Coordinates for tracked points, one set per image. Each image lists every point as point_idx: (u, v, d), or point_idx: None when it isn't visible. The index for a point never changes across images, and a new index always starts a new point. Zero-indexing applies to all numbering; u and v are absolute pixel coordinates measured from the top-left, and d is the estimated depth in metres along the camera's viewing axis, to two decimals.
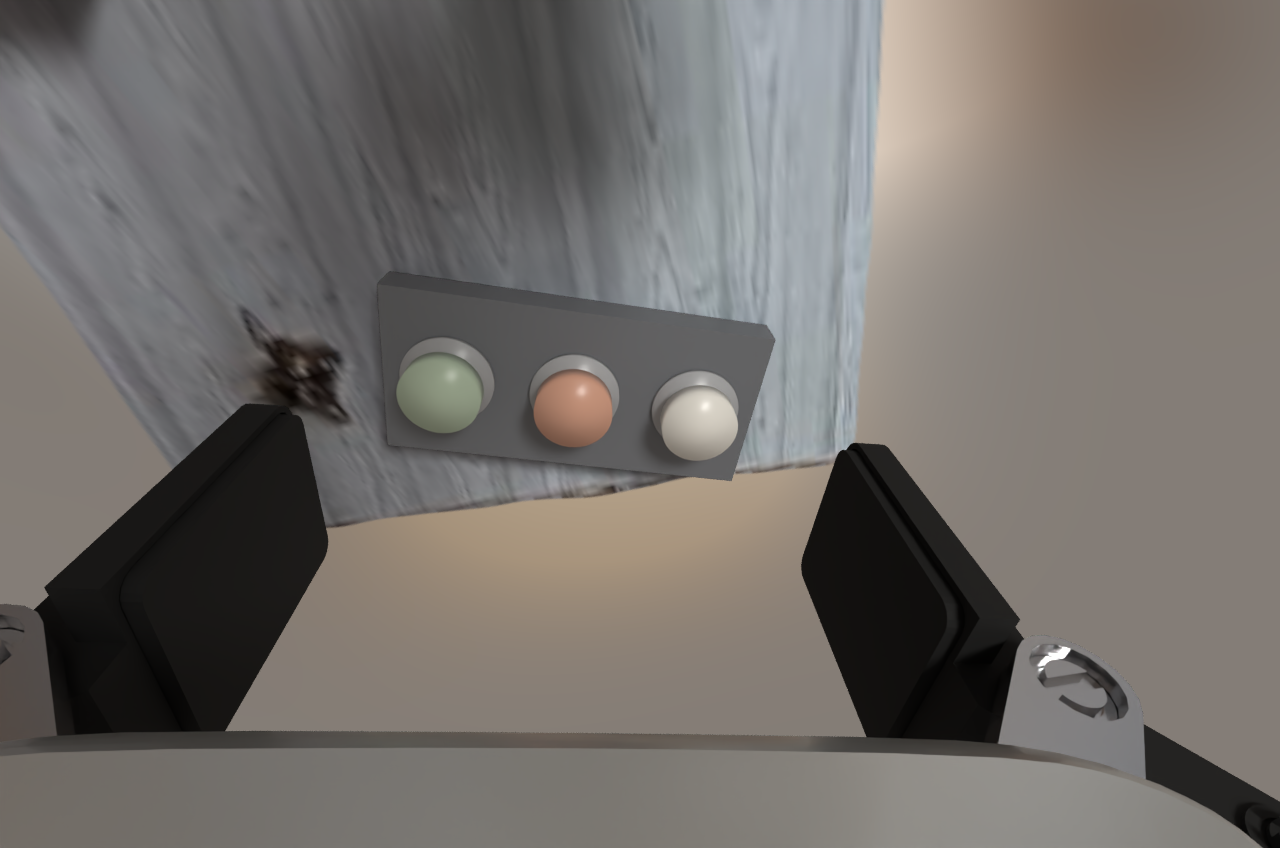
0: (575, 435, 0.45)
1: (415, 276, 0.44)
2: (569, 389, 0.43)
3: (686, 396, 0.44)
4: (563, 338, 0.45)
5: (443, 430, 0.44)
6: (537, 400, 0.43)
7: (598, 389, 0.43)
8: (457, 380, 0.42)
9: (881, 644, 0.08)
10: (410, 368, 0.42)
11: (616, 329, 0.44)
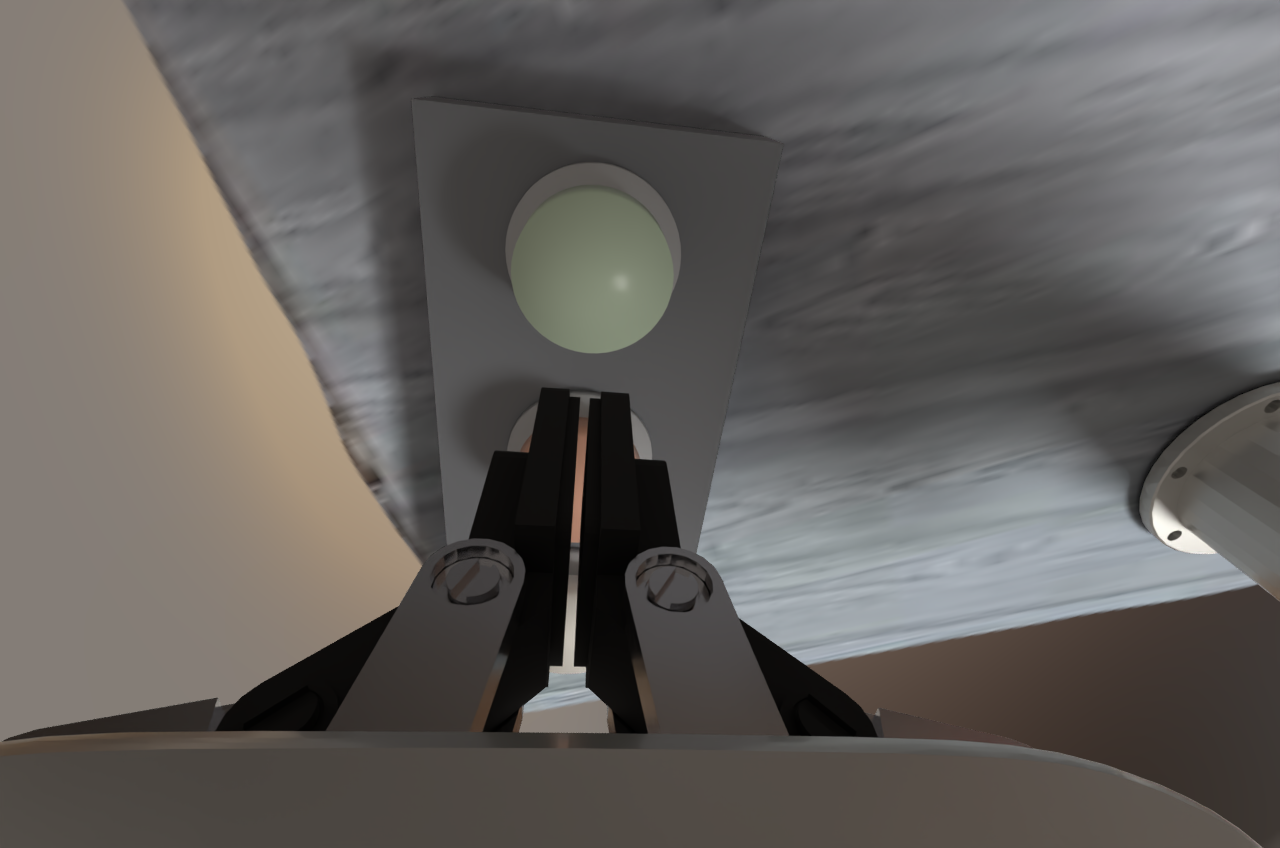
0: None
1: None
2: None
3: None
4: (676, 435, 0.29)
5: (518, 281, 0.21)
6: None
7: None
8: (636, 317, 0.22)
9: None
10: (659, 230, 0.21)
11: (690, 498, 0.31)
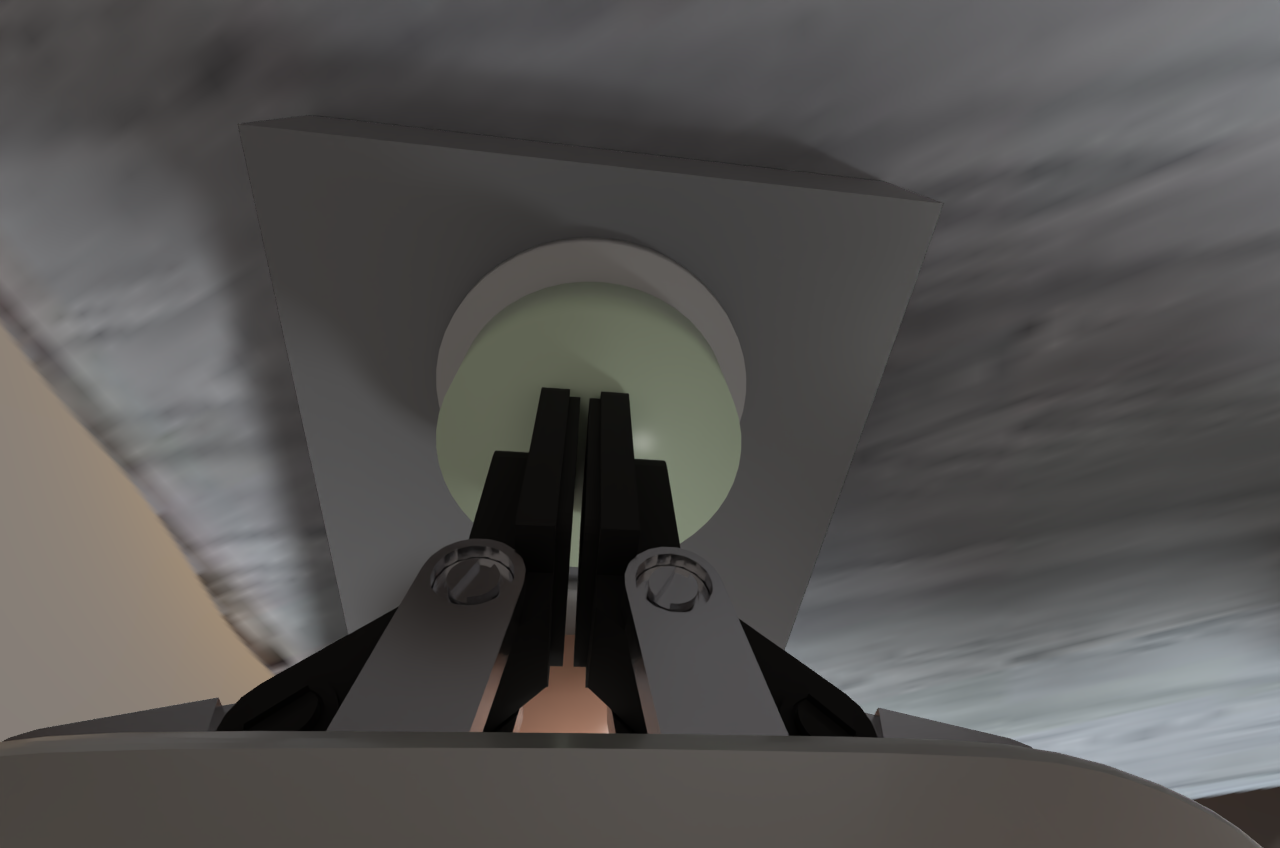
0: None
1: None
2: None
3: None
4: None
5: (451, 463, 0.11)
6: None
7: None
8: None
9: (579, 570, 0.09)
10: (717, 376, 0.11)
11: None
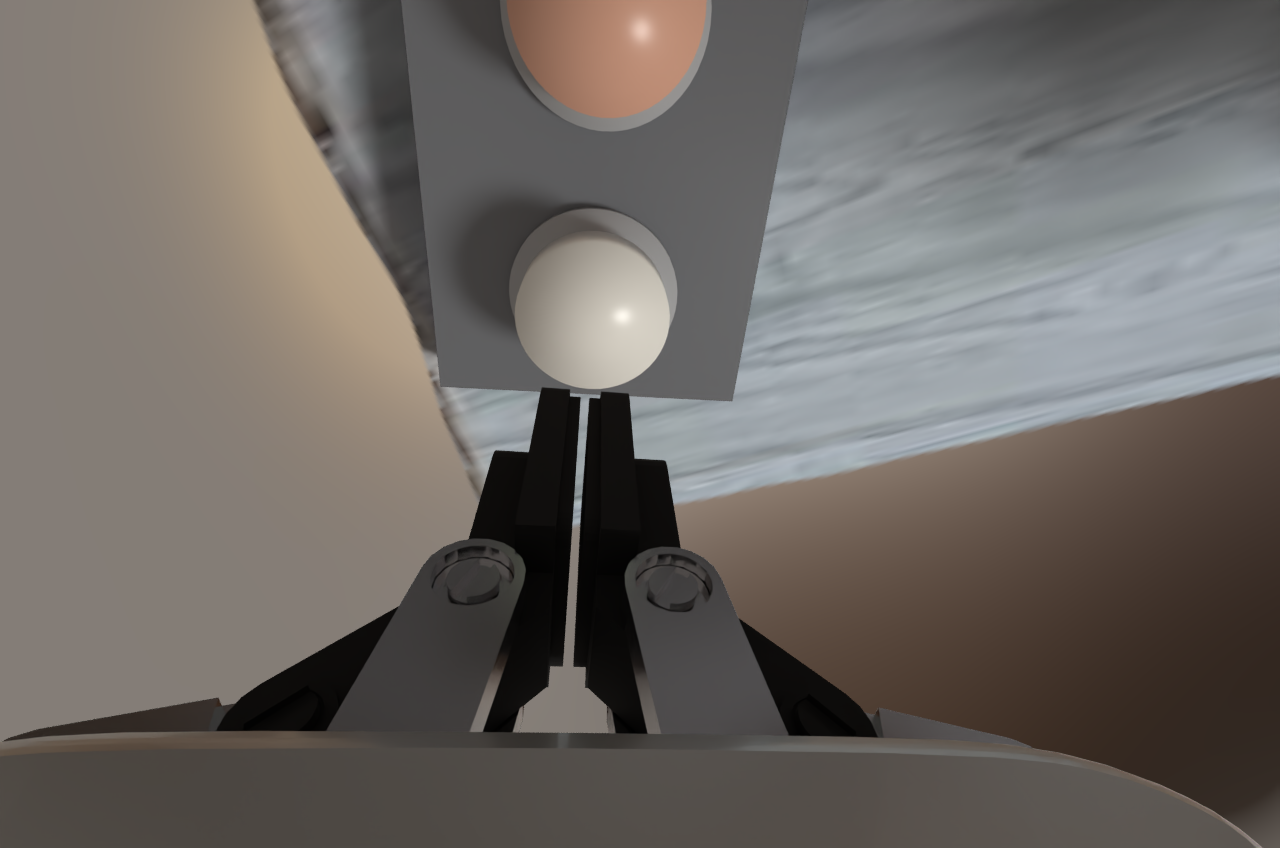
0: (545, 14, 0.17)
1: None
2: None
3: (661, 281, 0.22)
4: None
5: None
6: None
7: (680, 76, 0.18)
8: None
9: None
10: None
11: (761, 112, 0.22)
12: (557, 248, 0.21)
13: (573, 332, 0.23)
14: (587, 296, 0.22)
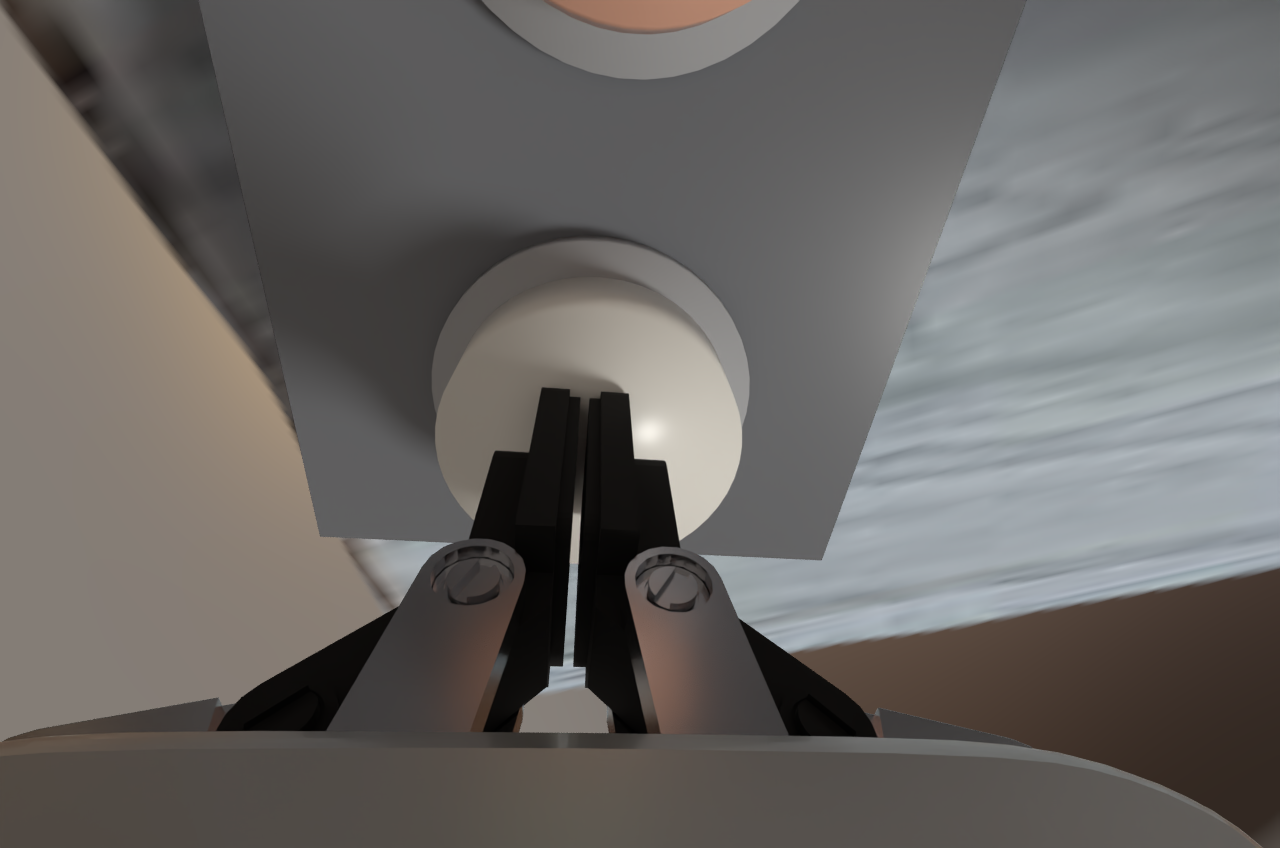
0: None
1: None
2: None
3: (727, 381, 0.11)
4: None
5: None
6: None
7: None
8: None
9: (579, 570, 0.09)
10: None
11: (955, 51, 0.10)
12: (520, 318, 0.10)
13: None
14: (581, 411, 0.11)
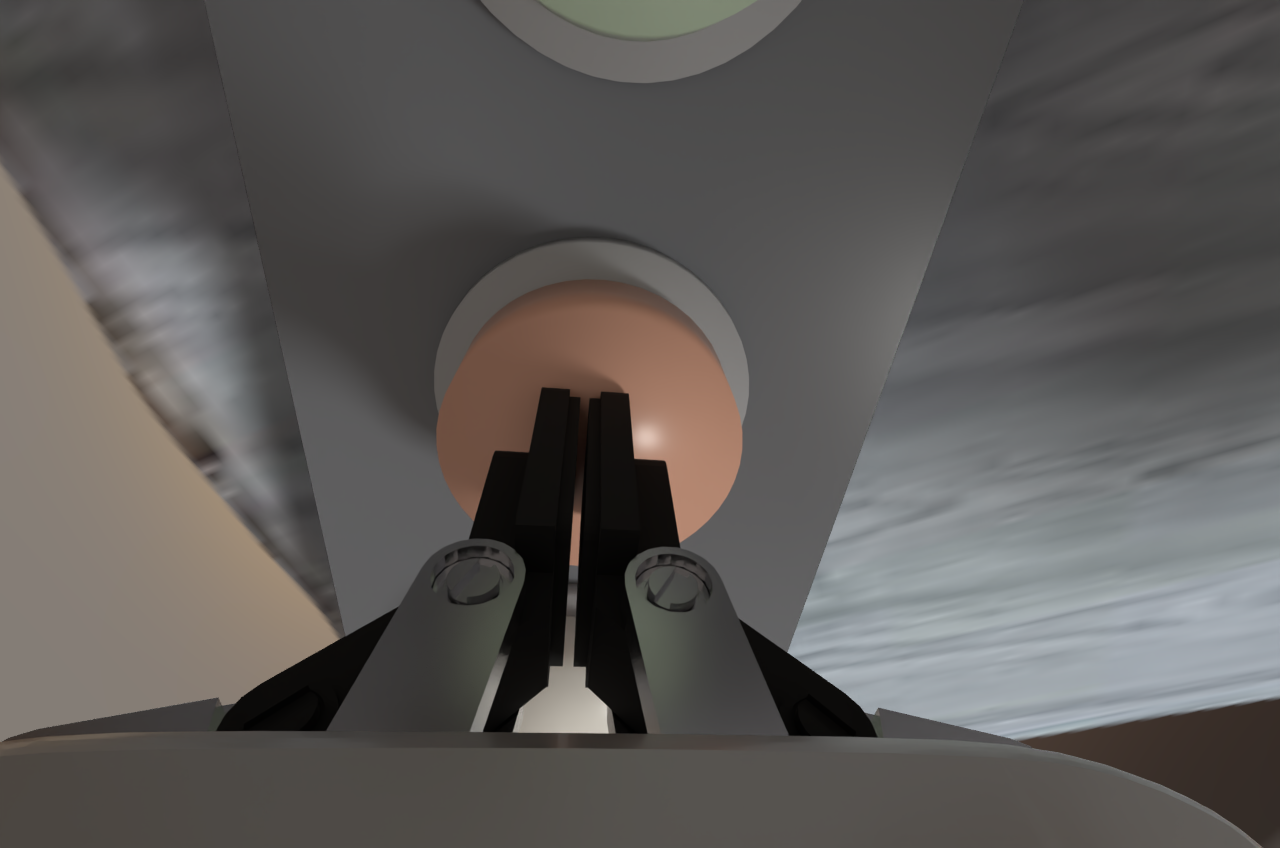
0: None
1: None
2: (702, 441, 0.11)
3: None
4: (799, 353, 0.14)
5: None
6: (652, 328, 0.10)
7: (699, 524, 0.13)
8: None
9: (579, 570, 0.09)
10: None
11: (811, 490, 0.16)
12: None
13: None
14: (561, 717, 0.16)
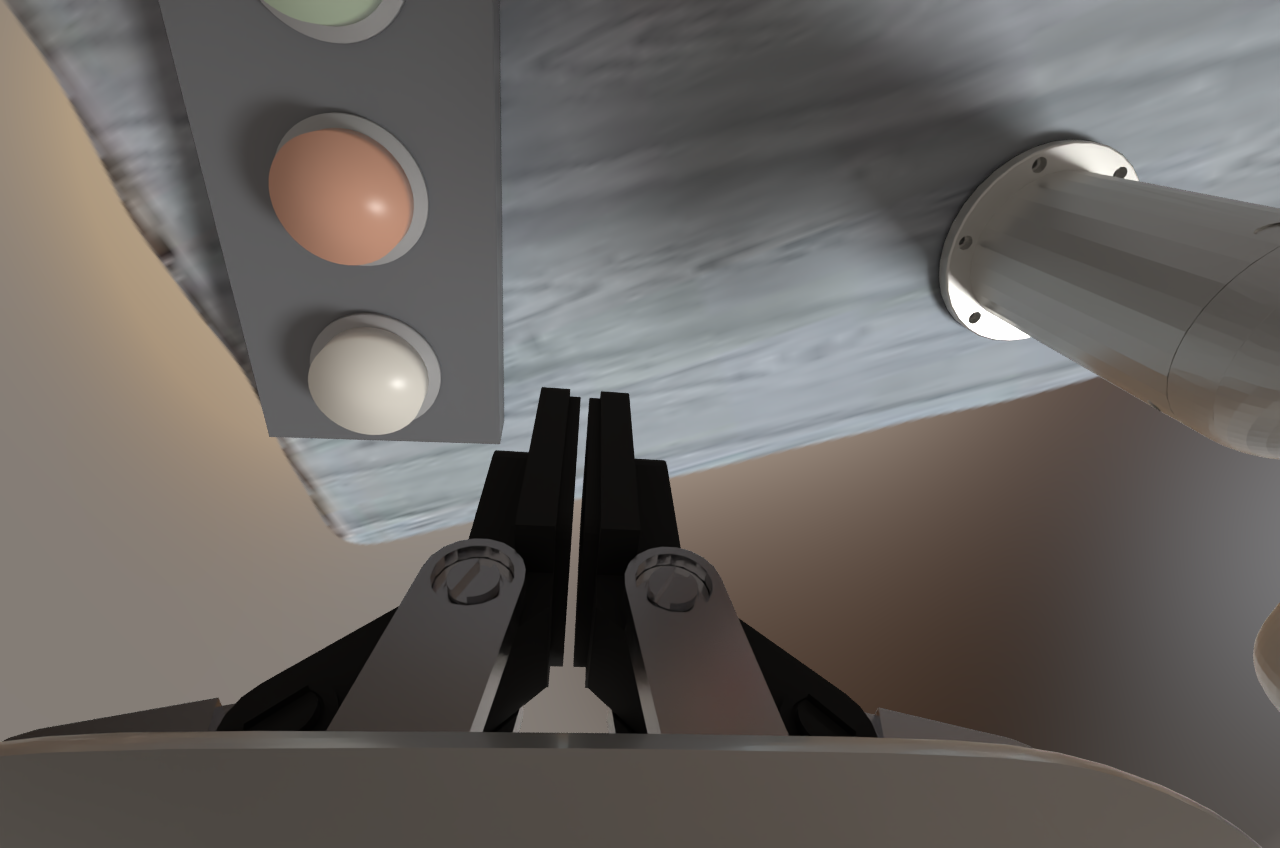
0: (298, 206, 0.27)
1: None
2: (385, 195, 0.27)
3: (413, 362, 0.32)
4: (449, 172, 0.29)
5: None
6: (350, 139, 0.26)
7: (396, 241, 0.29)
8: None
9: None
10: None
11: (478, 252, 0.32)
12: (332, 343, 0.31)
13: (353, 397, 0.33)
14: (359, 374, 0.32)
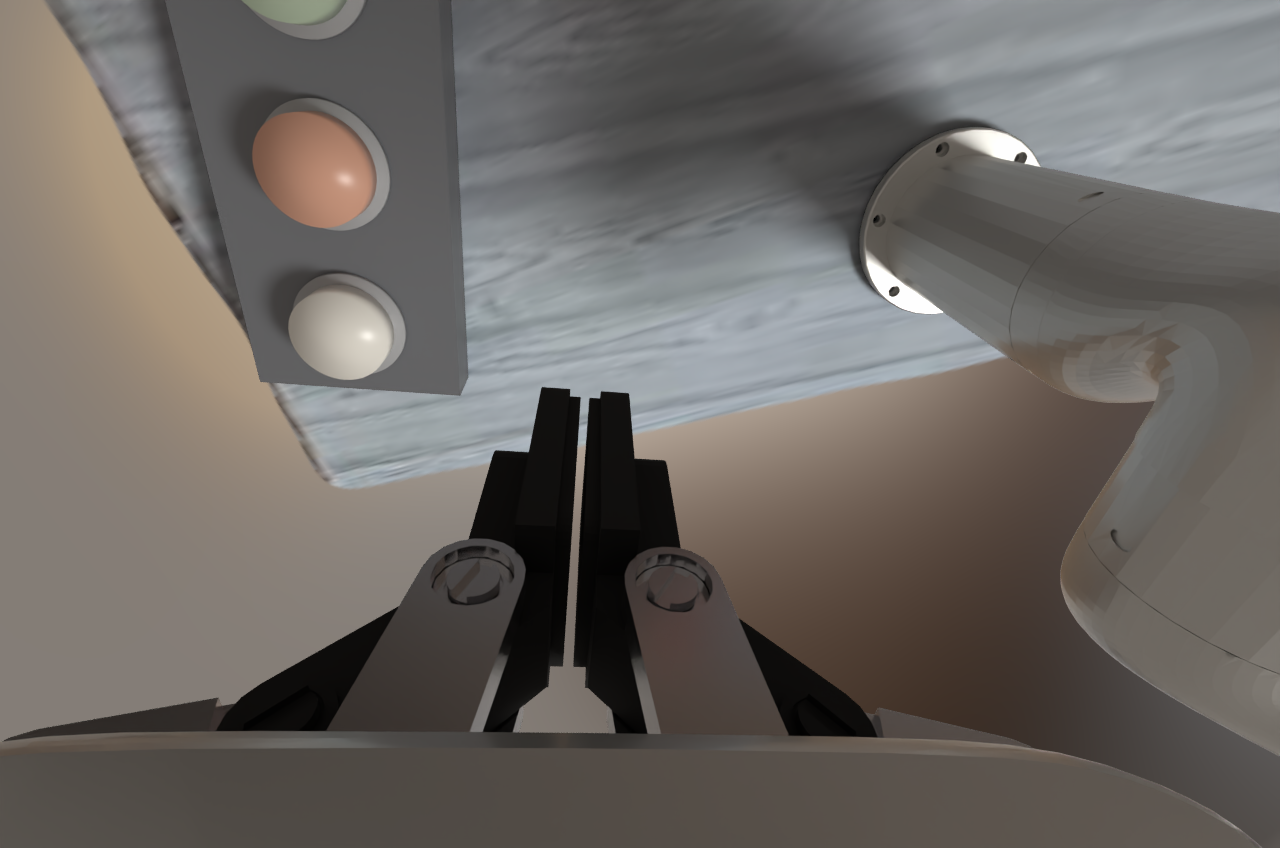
0: (276, 176, 0.33)
1: None
2: (348, 167, 0.33)
3: (377, 316, 0.37)
4: (407, 150, 0.34)
5: None
6: (318, 119, 0.31)
7: (359, 207, 0.34)
8: None
9: None
10: None
11: (434, 220, 0.37)
12: (308, 296, 0.36)
13: (327, 345, 0.38)
14: (331, 324, 0.37)
